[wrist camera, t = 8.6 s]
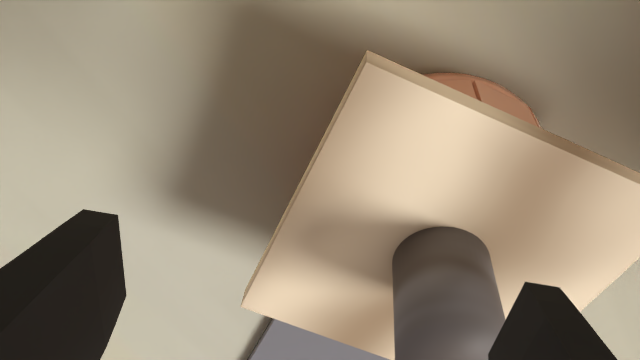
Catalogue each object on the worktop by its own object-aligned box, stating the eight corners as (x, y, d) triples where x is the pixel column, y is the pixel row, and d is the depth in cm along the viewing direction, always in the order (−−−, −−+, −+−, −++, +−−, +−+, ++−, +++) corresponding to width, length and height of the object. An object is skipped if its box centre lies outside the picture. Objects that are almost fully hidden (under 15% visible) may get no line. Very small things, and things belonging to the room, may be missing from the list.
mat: (238, 374, 29) (237, 381, 29) (321, 236, 23) (321, 243, 23) (419, 436, 31) (420, 443, 30) (542, 323, 25) (544, 330, 24)
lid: (245, 290, 20) (215, 400, 16) (367, 50, 14) (363, 136, 10) (485, 376, 21) (507, 494, 18) (680, 191, 16) (770, 308, 12)
